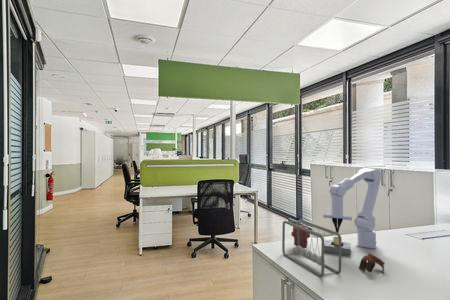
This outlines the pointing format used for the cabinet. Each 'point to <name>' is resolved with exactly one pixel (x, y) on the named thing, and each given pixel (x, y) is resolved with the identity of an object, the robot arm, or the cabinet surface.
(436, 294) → the cabinet surface
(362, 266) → the brown sunglasses
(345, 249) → the block
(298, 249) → the newton's cradle
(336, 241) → the bushing
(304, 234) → the mechanical component
